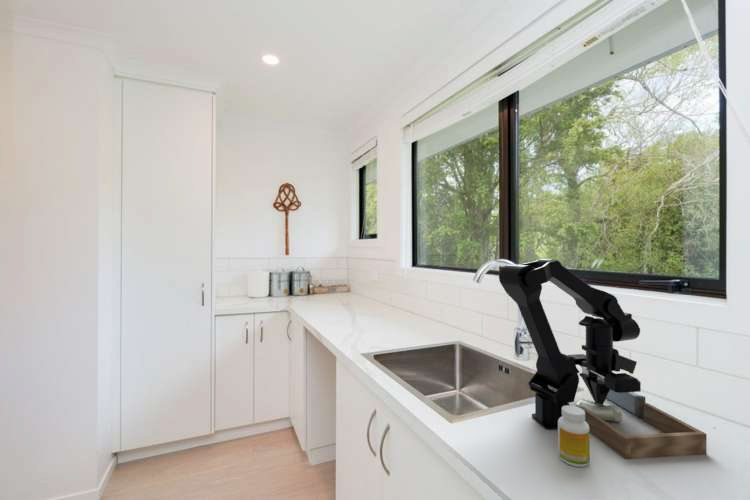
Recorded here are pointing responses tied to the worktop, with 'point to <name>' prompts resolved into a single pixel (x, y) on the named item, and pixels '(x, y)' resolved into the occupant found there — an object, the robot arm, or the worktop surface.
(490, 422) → the worktop surface
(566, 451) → the supplement bottle
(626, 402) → the grey rectangular bar
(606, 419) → the pipe fitting
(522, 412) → the worktop surface
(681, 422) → the rectangular wooden tray
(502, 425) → the worktop surface
